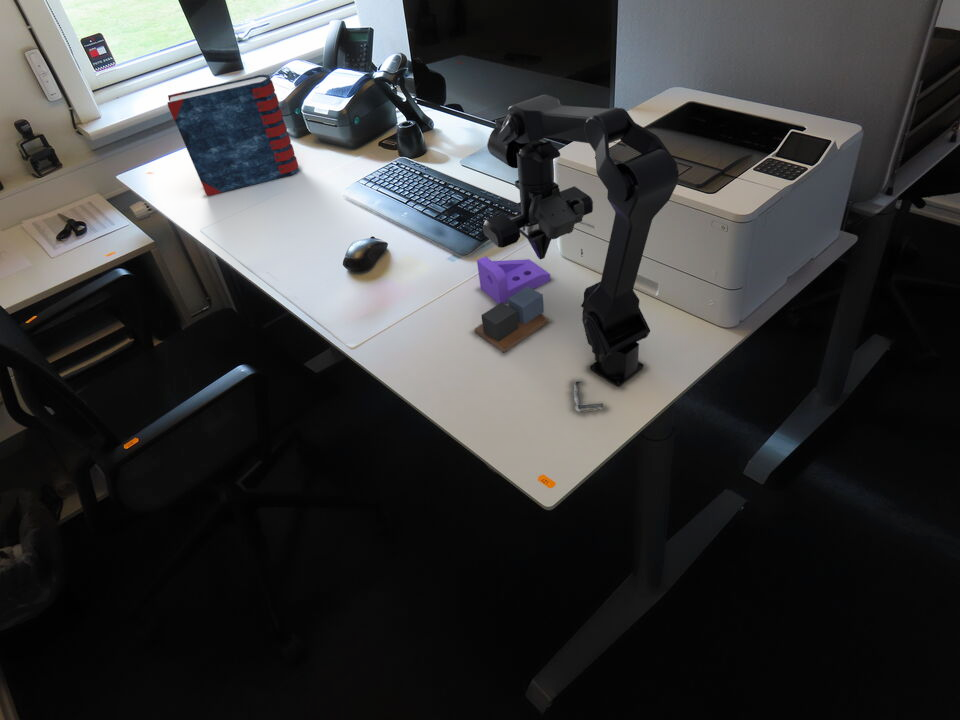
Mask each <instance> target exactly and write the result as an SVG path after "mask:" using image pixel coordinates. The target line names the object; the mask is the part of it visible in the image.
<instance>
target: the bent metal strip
mask: <svg viewBox="0 0 960 720" xmlns="http://www.w3.org/2000/svg"><path fill="white" fill-rule="evenodd" d="M574 381H575V383H573V393H572V395H573V401H574V403H575V406H574V409H575V411H576V412H578V413H579V412H580V413H586V412H594V411H603V410H604V403H603V402H599V403H596V402H595V403H580V399H579V392H578V386H577V385H578V384H580V383H582V382H583V381H582V380H576V379H575V380H574Z"/></svg>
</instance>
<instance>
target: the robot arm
mask: <svg viewBox="0 0 960 720" xmlns="http://www.w3.org/2000/svg"><path fill="white" fill-rule="evenodd" d="M507 111H508V114H507V116H506V117H502V118H500V119H496V120H495V127H494V128H493V130H492V131H491V132H490V134H489V136H488V139H487V142H486V147H487V151H488V152H489V154H490V155H491V156H493V157H494V158H496V159H498V160H499V161H500V162H502V163H504V164H505V165H506V166H508V167H510V168H512V169H517V178H518V179H517V180H515V181H514V186H515V188H516V189H517V190H519V202H517V203H516V209H517V210H518V211H519V212H520V213H521V214H519V215H517V216H515V217H512V218H510V217H509V216H507V215H506V214H505V213H504V212H503V213H500V214H497V215H495V216H492V217H490V218H487V219H485V220H484V221H483V224H482V229H483V235H484V236H485V237H487V238H488V240H490V241H491V242H492V243H493V244H494V245H495V246H496V247H497V248H501V249H503V248H506V247H508V246H511V245H515V243H518V241H519V239H520V238H521V235H522V236H523V237H524V238H526V239H527V241H528V243H529V244H530V246H531V248H532V250H533V252H534V253H535V255H536V257H537V259H539V260H540V261H541V260H544V259H545V257H546V255H547V253H548V250H549V247H550V244H551V241H552V240H556V239H559V238H560V237H562V236H565V235H567V234H568V235H569V234H571V233H573V231H574V228H575V225H576V224H578V223H581V222H583V218H584V216H586V215H587V216H588V215H589V214H591V213H593V211H594V201H593V198H592V197H591V196H590V195H589V194H587V193H586V192H584V191H582V190H581V189H580V188H578V187H577V186H575V185H573V186H571V187H568V188H566V189H563V190H560V185H559V184H558V183H557V182H555V173H554V172H555V171H554V170H555V169H554V159H557V158H560V157H561V152H560V151H559V149H558V148H557V147H556V146H554V145H553V144H554V143H552V141H551V140H548V141H546V140H544V139H555V140H562V141H568V142H576V143H583V144H589V145H590V146H591V148H592V150H593V151H594V154H595V171H596V176H598V178H599V180H600V181H601V183H602V184H603V185H604V187H605V188H606V190H607V194H606V195H607V200H608V202H609V204H610V206H611V208H612V209H613V211H614V219H613V222H612V223H613V224H612V228H611V231H610V232H611V233H610V236H609V237H610V238H609V242H608V247H607V251H606V256H605V260H604V265H603V270H602V274H601V279H600V281H598V282H597V283H594V284H592V285H590V286H588V287H586V288H585V289H584V292H583V300H582V303H581V304H580V307H581V308H582V317H581V322H582V326H583V329H584V333H585V337H586V341H587V344H588V345H589V346H590V347H591V353H593V355H594V361H595V362H593V363H592V364H590V366H589V370H590V371H591V372H593V373H595V374H596V375H598V376H599V377H601V378H602V379H605V380H606V381H608V382H609V383H611V384H612V385H614V386H616V387H617V388H618V387H621V386H623V385H624V384H626V382H628V381H629V380H631V379H632V378H633V377H634V376H635V375H637V374H638V373H639V372H640V371H642V370H643V369H644V366H645V365H644V364H643V363H642V362H640V361H639V352H640V351H639V350H640V348H639V347H640V344H639V341H642V340H643V339H647V338H648V337H649V335H650V333H651V328H650V327H649V324H648V323H647V321H646V320H647V319H646V318H645V317H644V314H643V312H642V310H641V308H640V298H639V297H638V295H637V294H636V293H635V291H634V287H635V284H636V281H637V277H638V273H639V269H640V265H641V262H642V259H643V254H644V252H645V248H646V244H647V241H648V237H649V233H650V229H651V226H652V222H653V220H654V218H655V216H656V215H657V214H658V213H659V212H660V211H661V210H662V209H663V208H664V207H665V205H666V204H667V203H668V202H669V201H670V199H671V197H672V195H673V193H674V191H675V189H676V187H677V185H678V182H679V176H680V171H679V168H678V163H677V161H676V159H675V158H674V156H673V155H672V154H671V152H670V150H668V148H667V147H666V145H665V143H663V142H662V140H661V138H660V137H659V136H658V135H657V134H655V133H654V132H652V131H651V130H648V129H647V128H645V127H643V126H641V125H640V124H638V123H636V122H635V121H634V120H633V118H632V117H631V115H630V114H629V112H628V111H627V110H626V109H625V108H622V107H612V108H605V107H603V108H602V107H589V106H588V107H587V106H575V105H574V106H573V105H563V104H561V102H560V100H559V98H557V97H554V96H552V95H549V94H541V95H538V96H536V97H533V98H530V99H527V100H524V101H521V102H519V103H516V104H512V105H509V107H508V108H507ZM619 140H620V142H622V143H623V144H624V145H626V146H627V147H629V148H631V149H633V150H634V151H636V152H638V153H640V154H639V155H636V156H634V157H631V158H629V159H626V160H624V161H621V162H619V163H615V162H614V161H613V159H612V158H611V155H610V144H611V143H614V142H617V141H619Z"/></svg>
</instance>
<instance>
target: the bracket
mask: <svg viewBox="0 0 960 720" xmlns="http://www.w3.org/2000/svg"><path fill="white" fill-rule="evenodd" d="M476 265H477V271H478V280H479V286H480V290H481V291H482V292H483V293H485V294H486V295H487V296H488V297H490V298H491V299H492V300H493V301H494V302H495V303H497V305H498V304H500V303H501V302H503V303H504V304H506V303H508V298H510V297H511V296H513V295H514V294H516V293H518V292H519V291H521V290H522V289H524V288H526V287H527V286H528V287H530V288H532V289H534V290H535V289H536V288H538V287H540V286H542V285H545V284H546V283H548V282H550V281H551V273H549V272H548V271H546V270H545V269H544V268H543V267H541V266H539V265H538V264H537V263H536V262H534V261H533V260H531V259H530V258H527V259H504V260H492V259H491V258H489V257H488V256H487V255H485V256H483V257H481V258H478V259H477V260H476Z"/></svg>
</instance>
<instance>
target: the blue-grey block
mask: <svg viewBox="0 0 960 720" xmlns="http://www.w3.org/2000/svg"><path fill="white" fill-rule="evenodd" d="M507 303H508V304H507V305H508V306H509V307H511V308H513V309H514V310H516V311H517V317H518V321H519V322H521V323H522V324H524V325H525V324H526V323H528V322H529V321H531V320H532V319H534V318H536V317H537V316H539V315H540V314H541V315H543V313H544V312H545V306H544V305H545V304H544V294H542V293H541V292H539V291H537V290H536V289H535V288H534V289H532V288H530V287H528V286H527V287H526V288H524V289H522V290H521V291H519V292H518V293H516V294H514V295H513V296H511V297H510V298H508V302H507Z"/></svg>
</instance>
